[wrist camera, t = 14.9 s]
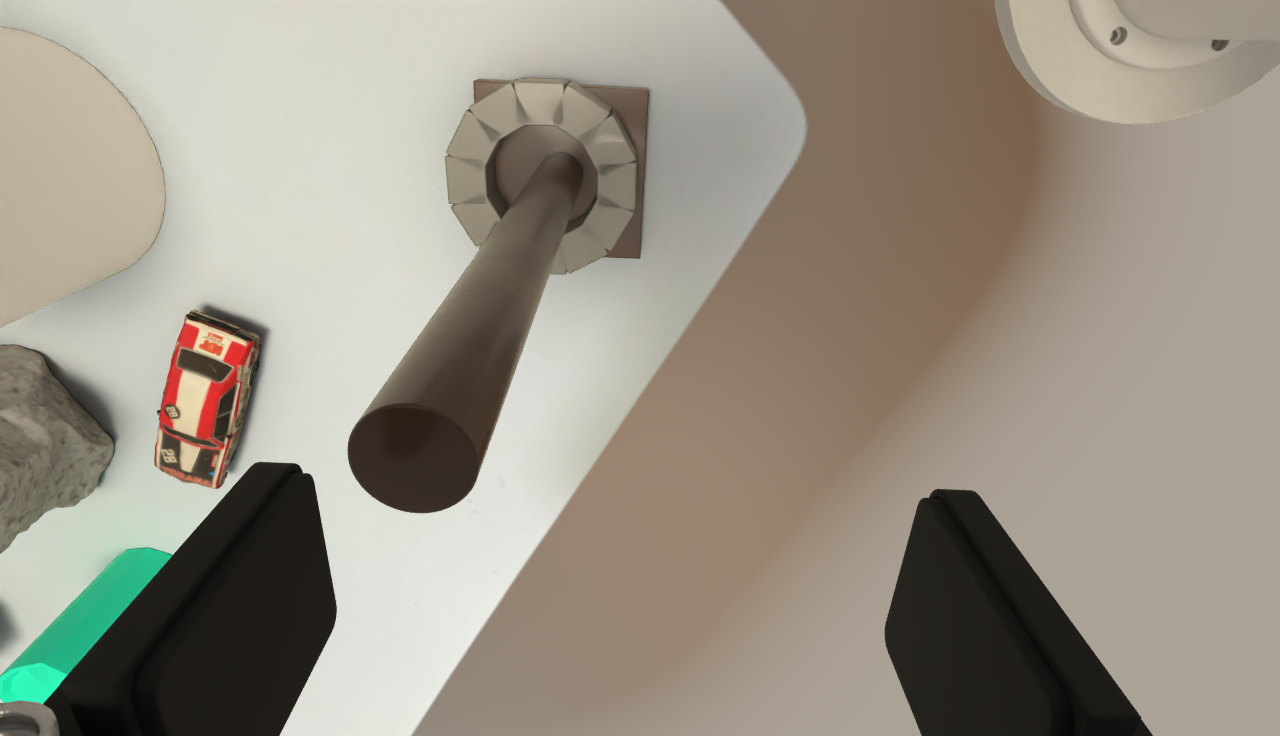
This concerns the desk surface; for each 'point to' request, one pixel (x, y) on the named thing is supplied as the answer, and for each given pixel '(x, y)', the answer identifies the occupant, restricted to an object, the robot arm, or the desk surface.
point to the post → (486, 318)
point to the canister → (68, 176)
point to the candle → (79, 627)
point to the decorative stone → (42, 444)
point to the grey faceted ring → (576, 117)
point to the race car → (205, 399)
